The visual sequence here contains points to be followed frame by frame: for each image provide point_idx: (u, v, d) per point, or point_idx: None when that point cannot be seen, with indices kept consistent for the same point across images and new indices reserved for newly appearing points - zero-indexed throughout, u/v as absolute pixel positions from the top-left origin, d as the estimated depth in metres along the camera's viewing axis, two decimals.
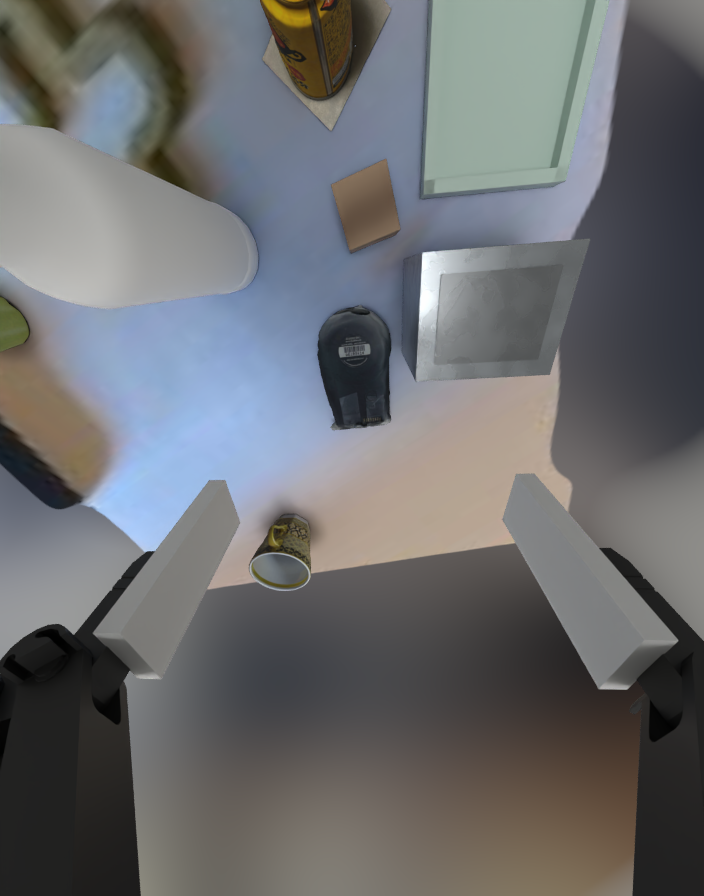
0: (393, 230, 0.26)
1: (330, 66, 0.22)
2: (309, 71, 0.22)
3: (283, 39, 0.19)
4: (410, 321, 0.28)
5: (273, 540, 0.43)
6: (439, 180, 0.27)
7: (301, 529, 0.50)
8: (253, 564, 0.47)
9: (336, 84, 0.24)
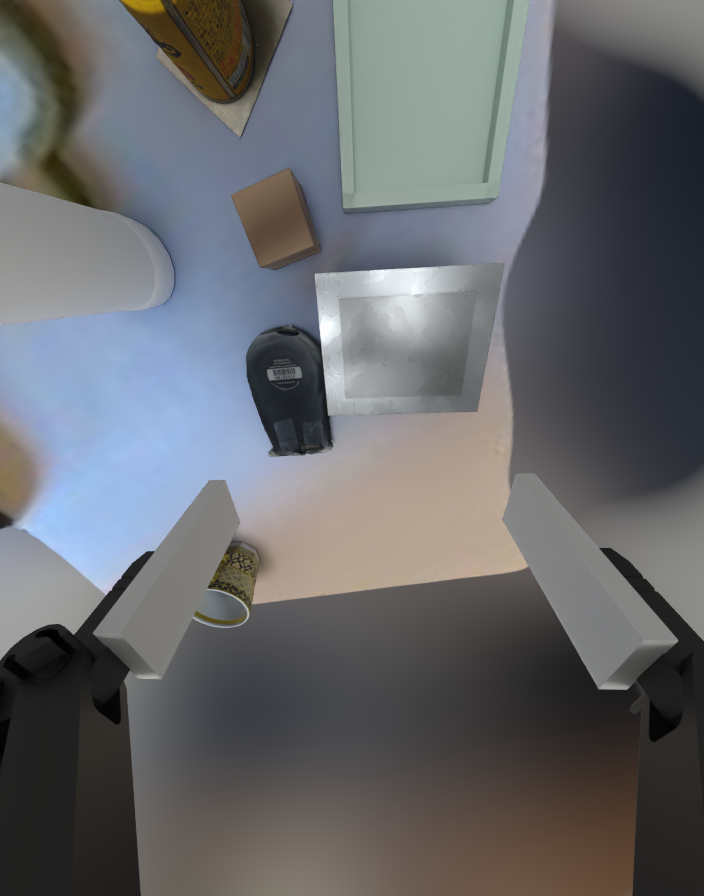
0: (306, 246, 0.24)
1: (218, 64, 0.19)
2: (193, 69, 0.19)
3: (146, 29, 0.17)
4: None
5: None
6: (359, 193, 0.24)
7: (245, 559, 0.47)
8: None
9: (237, 86, 0.22)
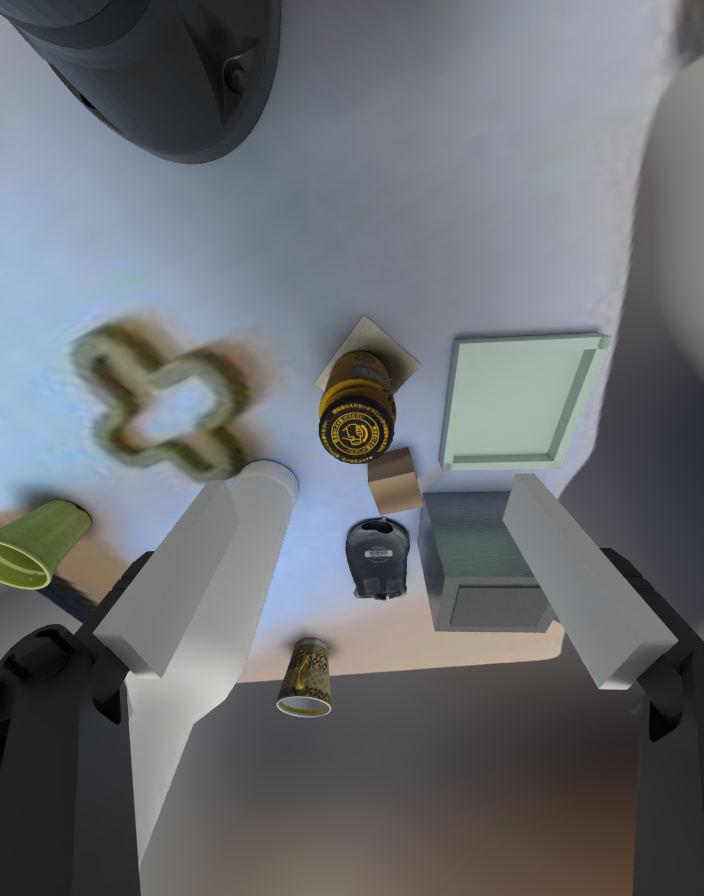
0: (417, 507, 0.32)
1: None
2: None
3: None
4: (429, 567, 0.34)
5: (299, 686, 0.48)
6: (456, 464, 0.32)
7: (321, 657, 0.56)
8: None
9: None
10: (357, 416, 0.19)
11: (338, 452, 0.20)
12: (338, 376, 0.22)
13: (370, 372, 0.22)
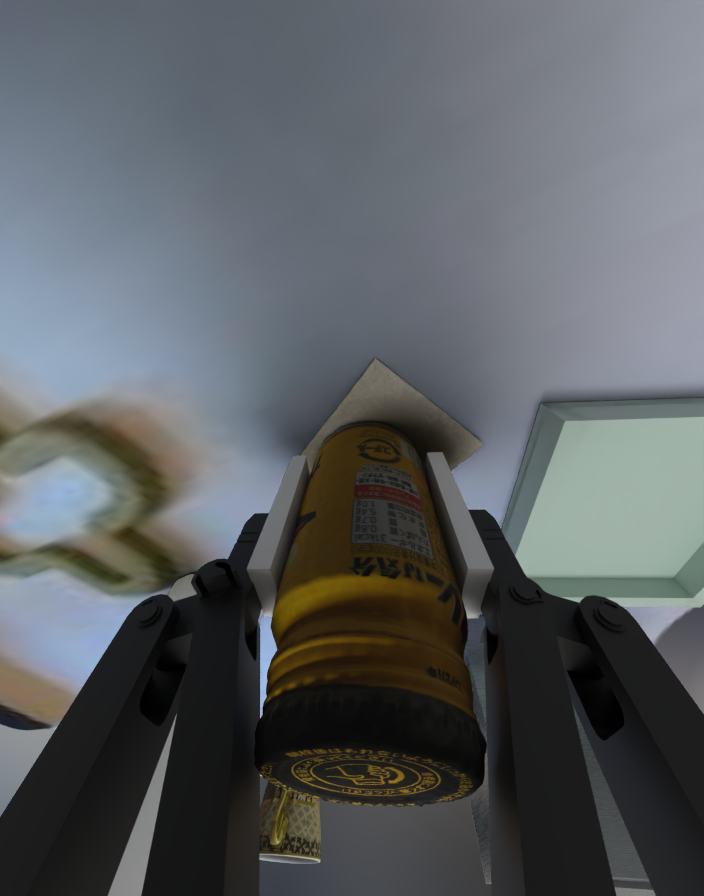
0: None
1: None
2: None
3: None
4: None
5: (276, 842, 0.35)
6: None
7: None
8: None
9: None
10: (371, 758, 0.06)
11: (316, 793, 0.07)
12: (318, 535, 0.09)
13: (398, 519, 0.09)
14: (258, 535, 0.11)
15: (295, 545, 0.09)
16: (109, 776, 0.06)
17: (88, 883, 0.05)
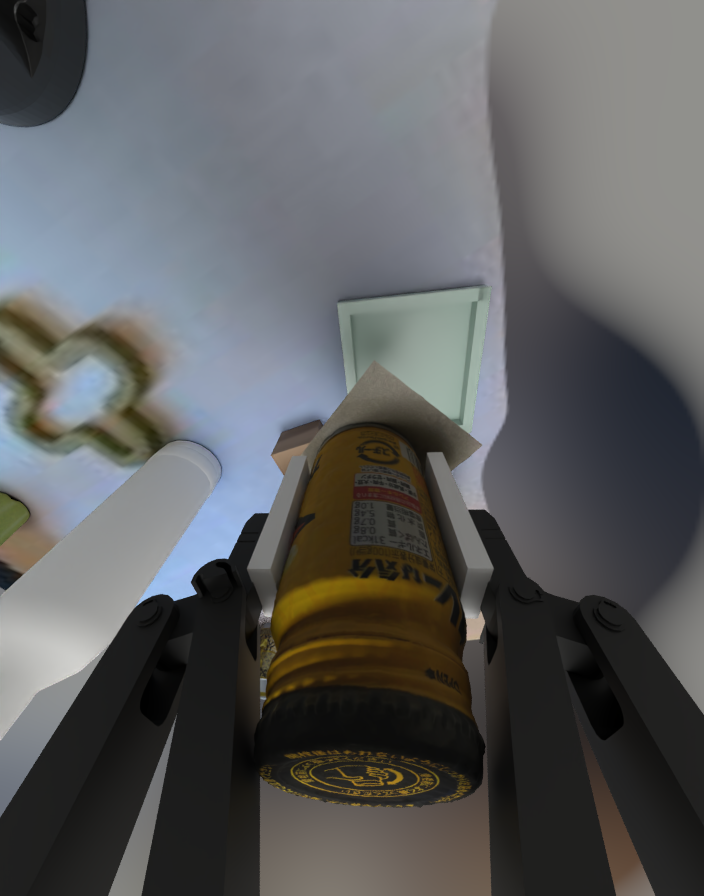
0: None
1: None
2: None
3: None
4: None
5: None
6: None
7: None
8: None
9: None
10: (370, 760, 0.06)
11: (315, 794, 0.07)
12: (317, 537, 0.09)
13: (397, 521, 0.09)
14: (258, 535, 0.11)
15: (294, 547, 0.09)
16: (109, 776, 0.06)
17: (88, 883, 0.05)
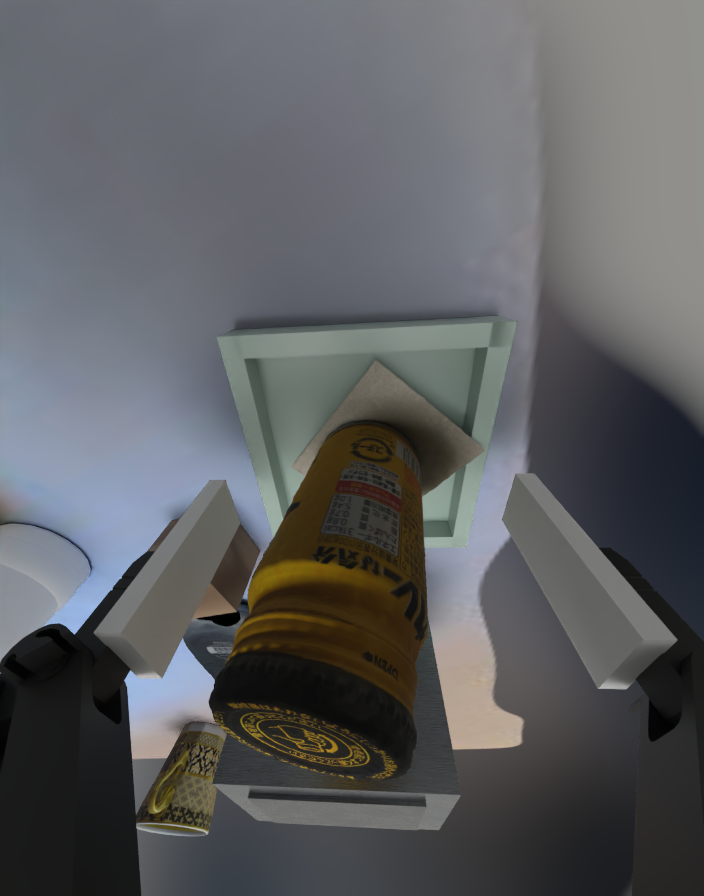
0: (227, 612, 0.19)
1: None
2: None
3: None
4: None
5: (155, 810, 0.35)
6: None
7: (207, 752, 0.43)
8: None
9: None
10: (303, 722, 0.06)
11: (267, 750, 0.08)
12: (295, 523, 0.09)
13: (370, 516, 0.09)
14: None
15: (277, 530, 0.10)
16: None
17: None
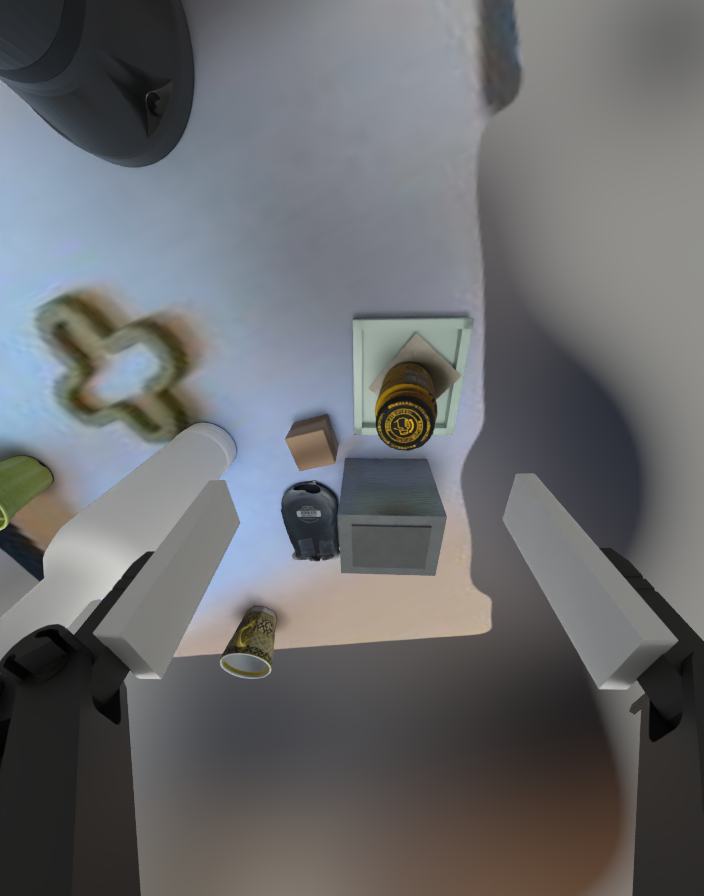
0: (330, 463, 0.37)
1: None
2: None
3: None
4: None
5: (240, 643, 0.52)
6: (365, 428, 0.37)
7: (267, 623, 0.60)
8: (223, 657, 0.56)
9: None
10: (406, 412, 0.24)
11: (388, 439, 0.26)
12: (393, 381, 0.28)
13: (418, 379, 0.28)
14: None
15: (383, 388, 0.29)
16: None
17: None
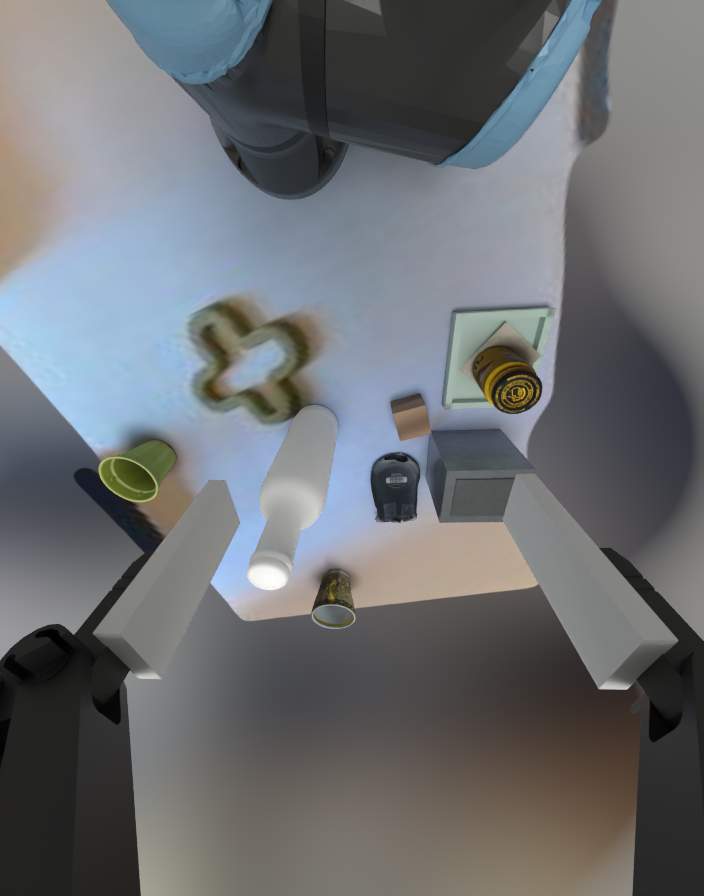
0: (427, 433, 0.45)
1: None
2: None
3: None
4: (435, 480, 0.47)
5: (331, 596, 0.61)
6: (454, 403, 0.45)
7: (346, 582, 0.68)
8: None
9: None
10: (521, 382, 0.32)
11: (502, 405, 0.34)
12: (499, 360, 0.35)
13: (519, 358, 0.35)
14: None
15: (489, 367, 0.36)
16: None
17: None
